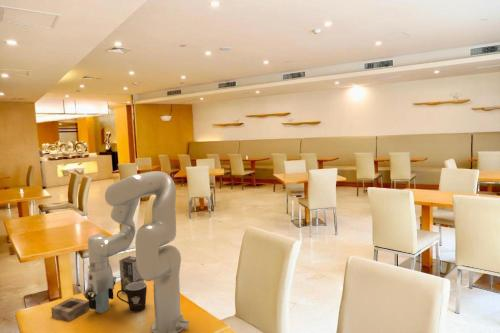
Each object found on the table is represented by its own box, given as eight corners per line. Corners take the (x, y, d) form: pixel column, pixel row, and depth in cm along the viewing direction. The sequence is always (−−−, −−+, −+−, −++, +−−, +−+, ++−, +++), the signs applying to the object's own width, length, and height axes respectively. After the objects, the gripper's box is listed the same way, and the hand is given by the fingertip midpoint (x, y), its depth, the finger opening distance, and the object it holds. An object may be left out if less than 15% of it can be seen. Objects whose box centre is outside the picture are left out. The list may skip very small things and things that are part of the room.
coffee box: (144, 292, 171) (143, 258, 170) (134, 297, 166) (132, 263, 164) (131, 288, 176) (129, 255, 175) (120, 293, 171) (118, 259, 169)
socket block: (89, 310, 155) (88, 301, 155) (69, 321, 146) (69, 312, 146) (72, 306, 159) (71, 297, 159) (51, 317, 150) (51, 307, 149)
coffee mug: (151, 304, 158) (150, 282, 157) (140, 314, 150) (139, 291, 149) (128, 302, 162) (127, 280, 161) (116, 311, 153) (114, 288, 152)
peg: (109, 308, 156) (107, 286, 155) (102, 313, 152) (100, 289, 151) (102, 307, 158) (100, 284, 157) (94, 311, 154) (93, 288, 153)
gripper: (89, 273, 144) (92, 314, 145) (120, 258, 160) (123, 296, 161) (75, 270, 147) (78, 311, 148) (107, 256, 162) (109, 293, 164)
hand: (101, 303), depth 155 cm, fingers open, 9 cm apart
